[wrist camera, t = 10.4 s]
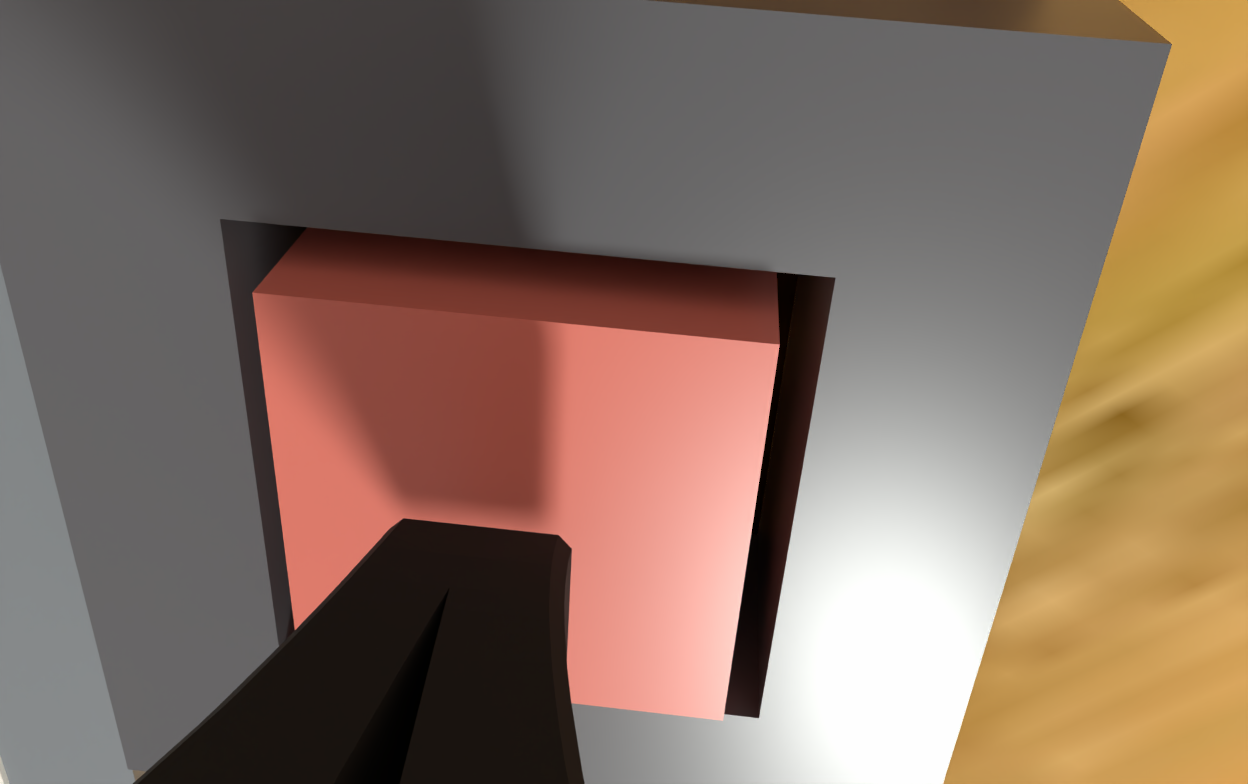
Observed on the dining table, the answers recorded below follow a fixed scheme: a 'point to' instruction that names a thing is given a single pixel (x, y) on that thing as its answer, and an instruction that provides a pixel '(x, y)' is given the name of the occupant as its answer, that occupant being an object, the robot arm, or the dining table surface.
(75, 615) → the white mounting plate
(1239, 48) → the dining table surface
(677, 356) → the button
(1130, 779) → the dining table surface
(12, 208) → the button housing
